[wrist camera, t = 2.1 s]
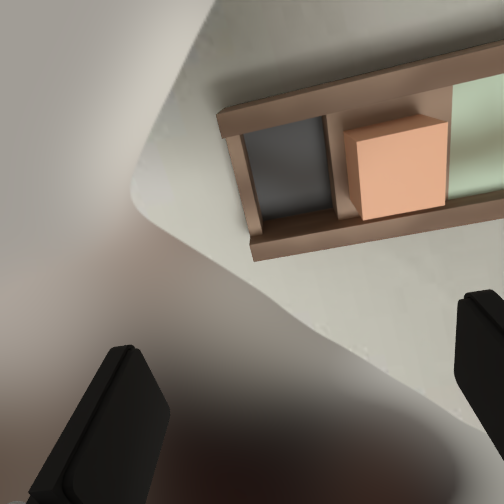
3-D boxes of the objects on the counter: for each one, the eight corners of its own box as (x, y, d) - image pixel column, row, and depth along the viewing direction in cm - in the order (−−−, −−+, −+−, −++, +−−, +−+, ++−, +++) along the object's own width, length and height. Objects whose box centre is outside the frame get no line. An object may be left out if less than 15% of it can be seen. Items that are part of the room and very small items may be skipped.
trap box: (224, 108, 26) (215, 114, 22) (666, -1, 21) (757, -17, 17) (255, 237, 31) (253, 261, 27) (619, 169, 26) (682, 187, 22)
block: (343, 131, 23) (356, 141, 20) (419, 113, 22) (447, 121, 19) (349, 199, 25) (362, 220, 22) (419, 186, 25) (445, 205, 21)
